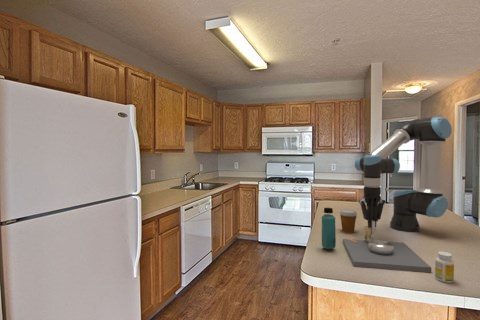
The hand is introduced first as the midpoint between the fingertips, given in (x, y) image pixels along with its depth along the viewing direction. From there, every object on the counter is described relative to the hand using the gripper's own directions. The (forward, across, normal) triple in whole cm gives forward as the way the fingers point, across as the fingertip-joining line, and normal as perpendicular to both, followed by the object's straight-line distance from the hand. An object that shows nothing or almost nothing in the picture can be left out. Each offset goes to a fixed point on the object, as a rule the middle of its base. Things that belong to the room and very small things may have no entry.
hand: (372, 233), depth 129 cm
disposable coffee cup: (+6, 0, -23) cm, 24 cm away
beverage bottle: (+6, +23, +1) cm, 24 cm away
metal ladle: (+4, +3, +7) cm, 9 cm away
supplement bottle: (+6, -5, +35) cm, 36 cm away
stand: (+6, +4, +12) cm, 14 cm away
